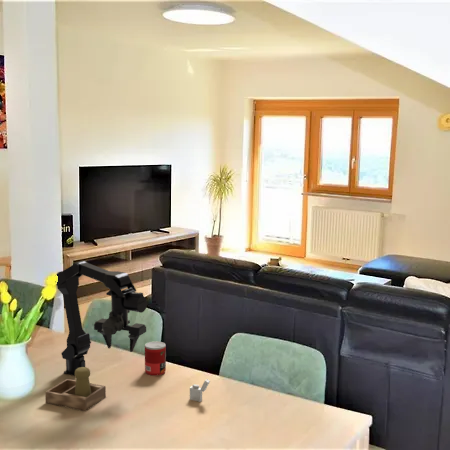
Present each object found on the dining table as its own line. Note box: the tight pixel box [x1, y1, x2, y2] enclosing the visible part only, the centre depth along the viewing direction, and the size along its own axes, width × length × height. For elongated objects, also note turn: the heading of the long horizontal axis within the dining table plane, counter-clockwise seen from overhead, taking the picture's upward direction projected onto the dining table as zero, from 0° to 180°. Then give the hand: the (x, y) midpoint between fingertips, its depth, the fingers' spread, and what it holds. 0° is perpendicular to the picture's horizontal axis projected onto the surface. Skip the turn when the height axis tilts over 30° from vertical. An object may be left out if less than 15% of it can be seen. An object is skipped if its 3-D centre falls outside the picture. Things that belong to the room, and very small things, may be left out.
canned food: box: [144, 340, 167, 377], centre depth 234 cm, size 8×8×11 cm
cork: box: [74, 366, 91, 397], centre depth 208 cm, size 6×6×11 cm
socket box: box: [44, 378, 107, 412], centre depth 210 cm, size 16×12×4 cm
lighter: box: [189, 378, 211, 402], centre depth 210 cm, size 7×2×8 cm, turn 65°
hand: (120, 349), depth 222 cm, fingers open, 9 cm apart
